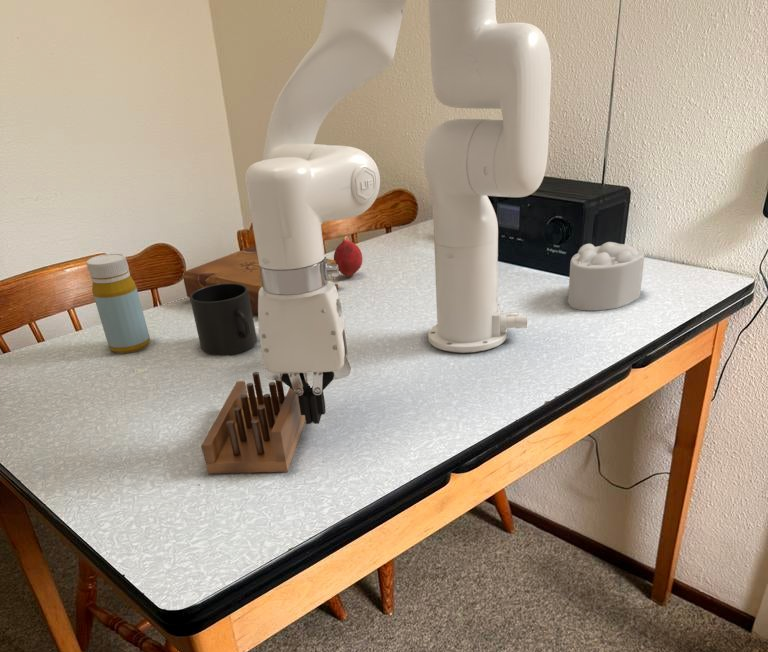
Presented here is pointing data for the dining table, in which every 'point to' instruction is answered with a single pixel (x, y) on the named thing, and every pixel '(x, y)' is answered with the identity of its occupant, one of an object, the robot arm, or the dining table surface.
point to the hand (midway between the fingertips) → (314, 418)
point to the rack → (254, 430)
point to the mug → (224, 318)
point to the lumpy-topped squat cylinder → (605, 276)
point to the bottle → (118, 303)
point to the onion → (348, 257)
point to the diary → (231, 274)
